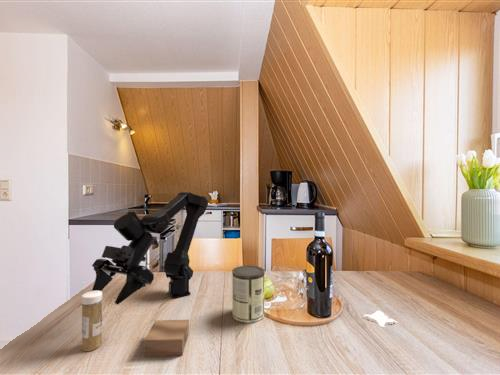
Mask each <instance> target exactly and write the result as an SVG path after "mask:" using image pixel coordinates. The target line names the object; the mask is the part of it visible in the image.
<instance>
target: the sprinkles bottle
mask: <svg viewBox="0 0 500 375" xmlns="http://www.w3.org/2000/svg"><path fill="white" fill-rule="evenodd" d="M80 299H81V300H80V304H81V338H82V341H81V344H82V345H81V350H82V351H84V352H92V351H95V350H97V349H98V348H100V347H101V346H102V344H103V338H102V337H103V335H102V332H103V313H102V308H103V307H102V306H103V305H102V301H103V291H98V290H96V291H92V290H90V291H87V292H84V293H83V294H82V295H81V298H80Z"/></svg>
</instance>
